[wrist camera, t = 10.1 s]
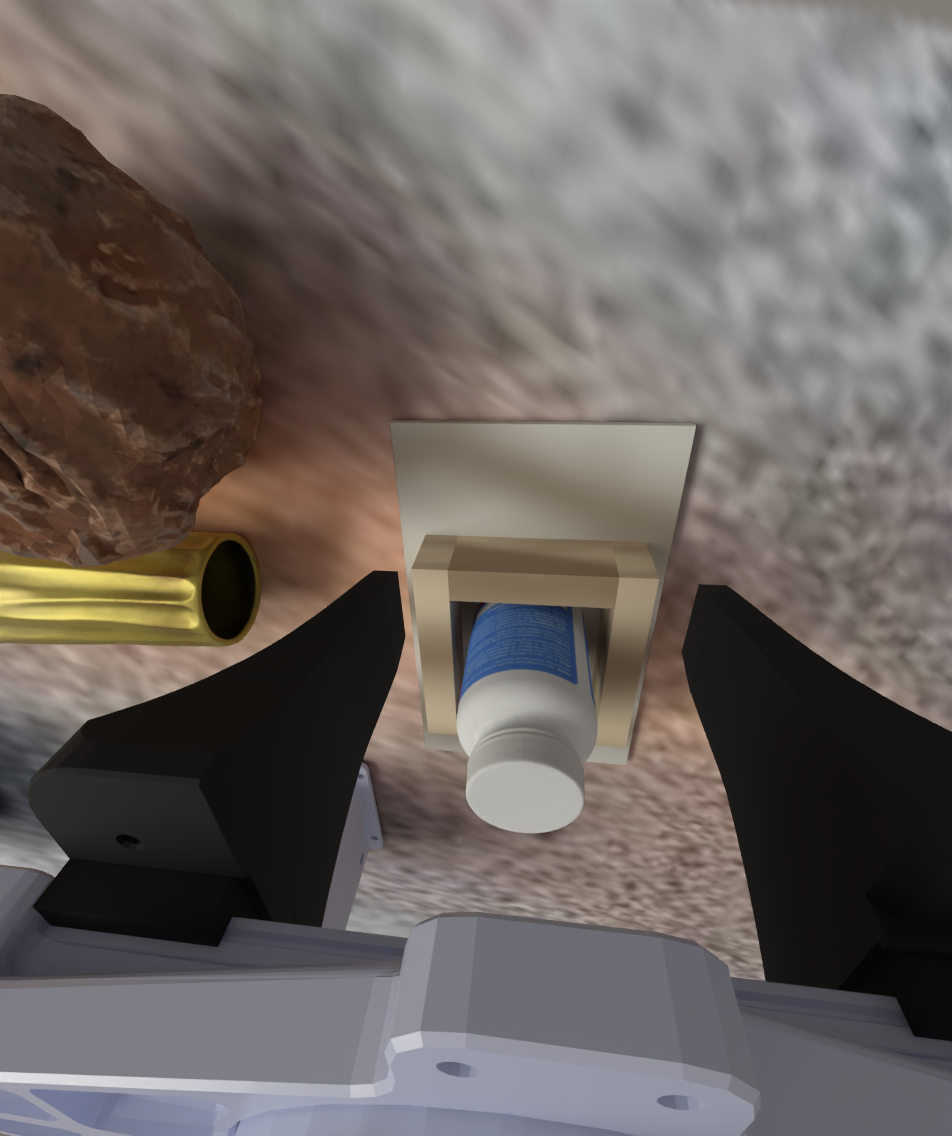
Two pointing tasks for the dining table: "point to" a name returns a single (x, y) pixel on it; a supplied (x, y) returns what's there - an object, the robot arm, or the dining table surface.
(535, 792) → the pill bottle
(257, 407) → the decorative rock
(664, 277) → the dining table surface
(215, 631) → the vase
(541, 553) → the socket block
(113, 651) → the dining table surface
